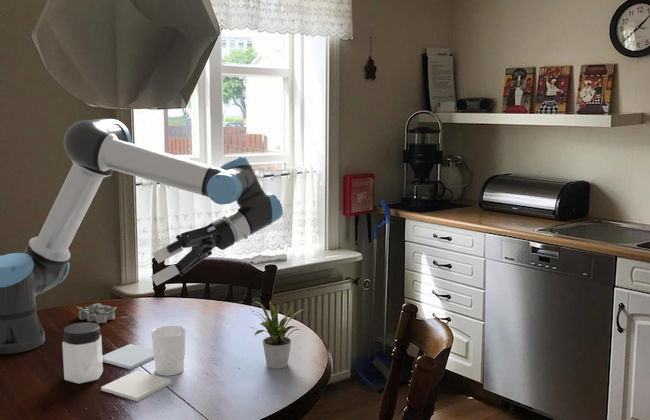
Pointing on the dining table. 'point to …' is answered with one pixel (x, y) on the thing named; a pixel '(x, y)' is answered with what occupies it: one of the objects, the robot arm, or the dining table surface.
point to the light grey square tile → (129, 356)
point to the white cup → (168, 350)
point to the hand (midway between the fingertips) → (154, 270)
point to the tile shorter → (136, 385)
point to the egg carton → (101, 310)
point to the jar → (82, 352)
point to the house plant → (276, 338)
